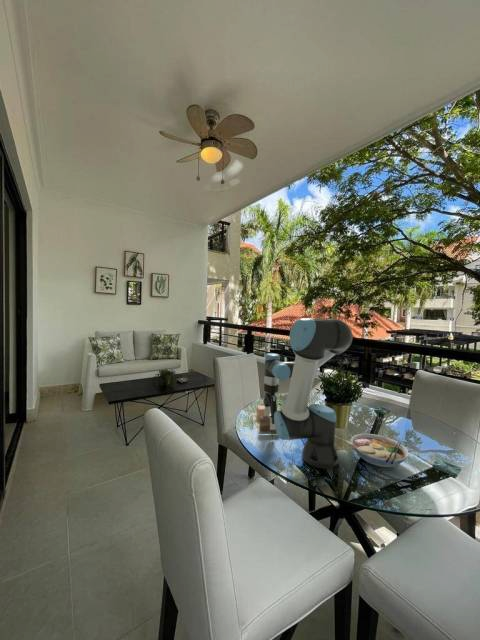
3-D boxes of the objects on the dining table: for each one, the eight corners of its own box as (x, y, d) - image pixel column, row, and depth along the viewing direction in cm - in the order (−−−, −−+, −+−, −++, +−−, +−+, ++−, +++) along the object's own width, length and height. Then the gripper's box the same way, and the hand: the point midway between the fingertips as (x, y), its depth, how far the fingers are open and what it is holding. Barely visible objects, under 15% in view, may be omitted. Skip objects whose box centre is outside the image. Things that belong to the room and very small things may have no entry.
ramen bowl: (359, 442, 144) (360, 426, 143) (412, 460, 129) (414, 442, 129) (340, 463, 124) (342, 445, 124) (400, 487, 110) (402, 466, 109)
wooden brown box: (281, 432, 152) (281, 418, 151) (258, 432, 150) (259, 418, 150) (270, 414, 175) (270, 401, 175) (250, 414, 174) (251, 402, 173)
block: (268, 419, 166) (269, 409, 166) (258, 419, 165) (259, 409, 165) (266, 415, 172) (267, 405, 172) (256, 415, 171) (257, 405, 171)
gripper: (259, 377, 162) (257, 414, 164) (269, 391, 138) (267, 434, 139) (272, 377, 163) (271, 414, 165) (285, 391, 139) (283, 434, 140)
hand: (269, 423), depth 152 cm, fingers open, 12 cm apart
